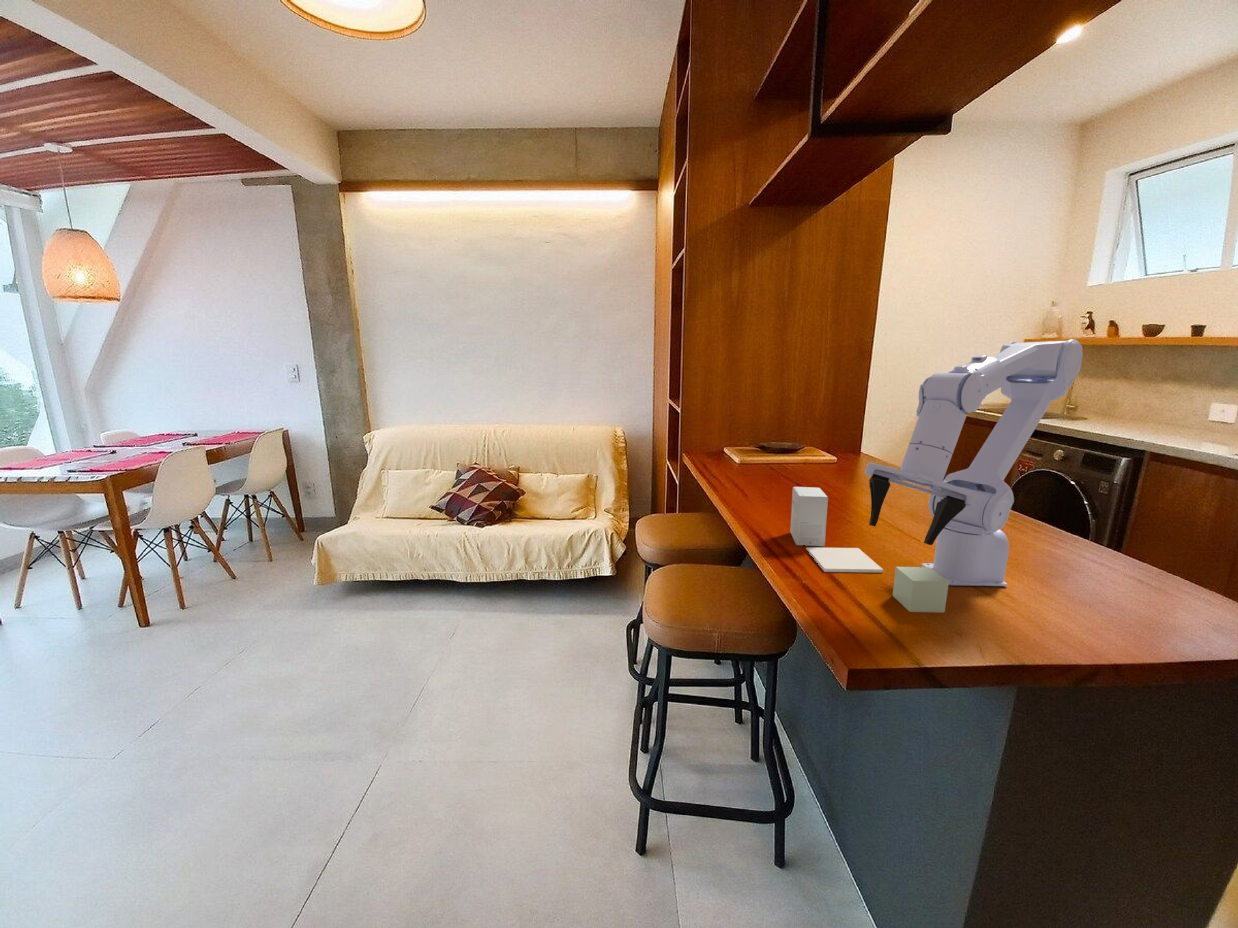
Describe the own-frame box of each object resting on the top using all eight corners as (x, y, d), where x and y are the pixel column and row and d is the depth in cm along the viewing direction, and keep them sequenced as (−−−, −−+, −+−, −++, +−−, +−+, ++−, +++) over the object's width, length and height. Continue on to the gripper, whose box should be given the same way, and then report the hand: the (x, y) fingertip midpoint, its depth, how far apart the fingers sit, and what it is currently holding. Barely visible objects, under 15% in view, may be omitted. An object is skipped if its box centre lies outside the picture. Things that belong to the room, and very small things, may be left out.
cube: (925, 596, 74) (928, 567, 73) (944, 612, 70) (948, 581, 69) (892, 596, 75) (895, 566, 74) (909, 612, 70) (913, 580, 69)
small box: (824, 547, 95) (829, 497, 92) (795, 545, 96) (798, 495, 94) (816, 533, 102) (820, 487, 100) (789, 532, 103) (792, 486, 101)
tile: (858, 550, 93) (858, 547, 93) (882, 572, 83) (883, 569, 83) (806, 550, 93) (806, 547, 93) (824, 571, 84) (824, 568, 83)
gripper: (881, 431, 70) (851, 517, 70) (996, 461, 64) (962, 555, 65) (875, 439, 76) (847, 517, 77) (979, 466, 71) (948, 551, 71)
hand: (899, 534), depth 71 cm, fingers open, 7 cm apart
